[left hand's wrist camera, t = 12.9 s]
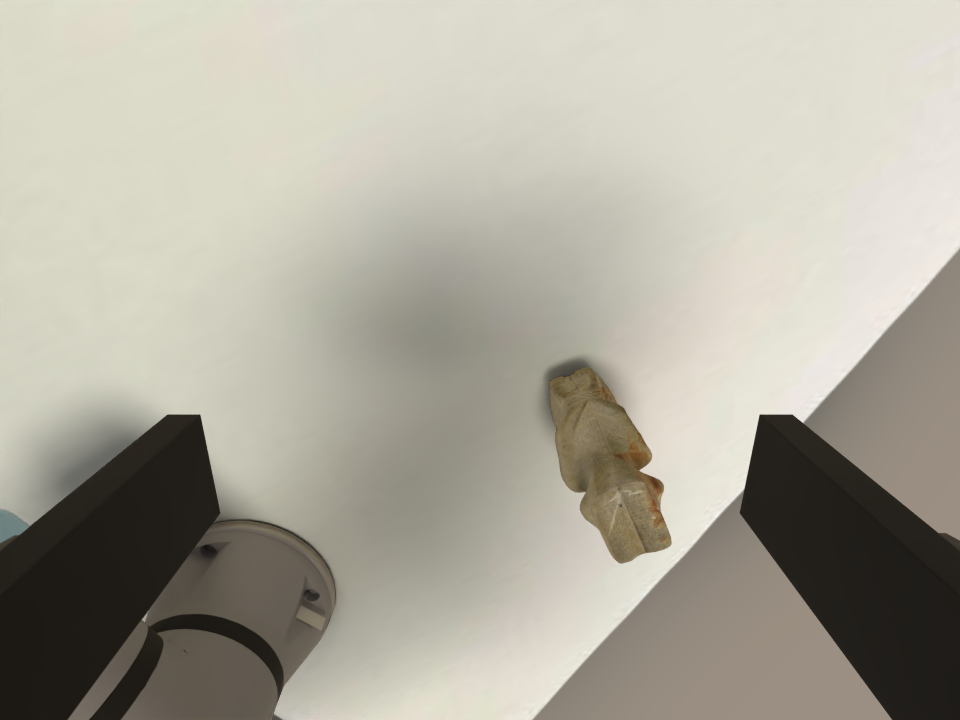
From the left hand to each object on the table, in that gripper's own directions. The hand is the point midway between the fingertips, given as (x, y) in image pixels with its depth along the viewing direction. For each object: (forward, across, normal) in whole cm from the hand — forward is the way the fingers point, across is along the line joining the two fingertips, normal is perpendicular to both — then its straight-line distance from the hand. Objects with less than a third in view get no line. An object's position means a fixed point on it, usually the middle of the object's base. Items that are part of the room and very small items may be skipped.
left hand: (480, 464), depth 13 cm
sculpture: (+28, -8, +11) cm, 31 cm away
